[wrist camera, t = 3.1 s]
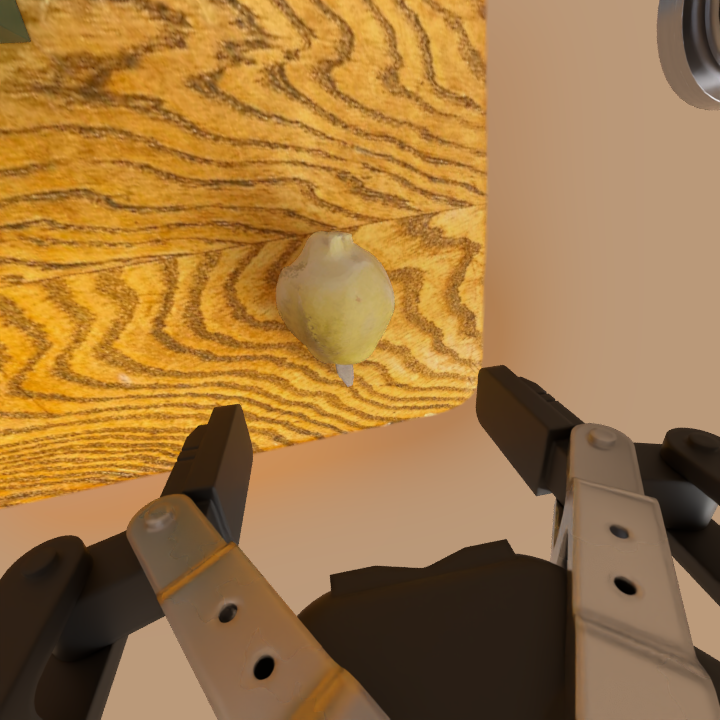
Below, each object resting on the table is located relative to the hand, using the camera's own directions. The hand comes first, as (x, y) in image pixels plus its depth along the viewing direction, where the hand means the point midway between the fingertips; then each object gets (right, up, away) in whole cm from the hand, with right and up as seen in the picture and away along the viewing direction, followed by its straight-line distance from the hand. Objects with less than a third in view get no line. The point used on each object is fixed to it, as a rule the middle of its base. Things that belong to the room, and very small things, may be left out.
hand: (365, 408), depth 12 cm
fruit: (-2, +5, +10) cm, 11 cm away
